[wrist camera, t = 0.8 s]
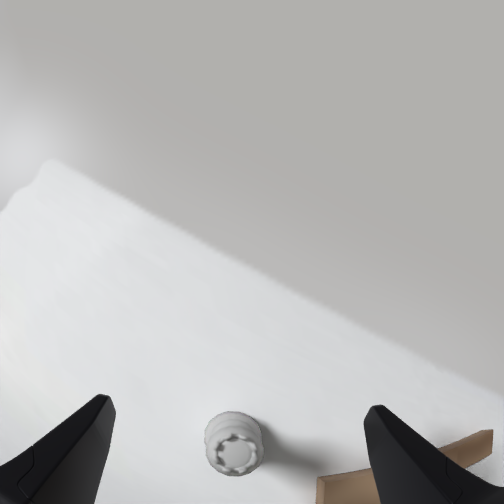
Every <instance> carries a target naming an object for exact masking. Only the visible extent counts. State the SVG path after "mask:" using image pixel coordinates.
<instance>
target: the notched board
mask: <svg viewBox="0 0 504 504" xmlns="http://www.w3.org/2000/svg"><path fill="white" fill-rule="evenodd" d="M492 444H493V429H492V430H481V431H479V432H477V433H475V434H473V435H470V436H468V437H466V438H463V439H461V440H459V441H456V442H454V443H451V444H449V445H446V446H444V447H441V448H438V450H440V451H441V452H442V453H443V454H445V455H446V457H449V458H450V459H451V460H453V461H454V462H455V463H457V464H458V465H460V466H461V467H462V468H466V467H468V466H470V465H472V464H474V463H476V462H478V461H480V460H481V459H483V458H485V457H487V456H489V455H490V454H492ZM316 504H381V503H380V499H379V495H378V491H377V487H376V483H375V479H374V476H373V472H372V468H369V469H364V470H359V471H354V472H348V473H342V474H336V475H329V476H321V477H317V493H316Z"/></svg>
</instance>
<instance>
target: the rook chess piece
mask: <svg viewBox="0 0 504 504" xmlns="http://www.w3.org/2000/svg"><path fill="white" fill-rule="evenodd" d="M204 442H205V445H206V456H207V459H208V461H209V463H210V465H211V466H212V467H213V468H214V469H216V470H217V471H218V472H220V473H222V474H225V475H227V476H243V475H246V474H249V473H251V472H252V471H254V470H255V469H256V468H257V467H259V465H260V463H261V461H262V459H263V457H264V446H263V444H262V434H261V431H260V429H259V426H258V424H257V423H256V422H255V421H254V420H253V419H252V418H251V417H250V416H248V415H246V414H243V413H241V412H233V411H227V412H224V413H221V414H218V415H217V416H215V417H214V418H213V419H212V420H210V421H209V423H208V425H207V427H206V429H205V437H204Z"/></svg>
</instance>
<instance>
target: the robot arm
mask: <svg viewBox="0 0 504 504" xmlns="http://www.w3.org/2000/svg"><path fill="white" fill-rule="evenodd" d="M115 417H116V411H115V408H114V405H113V402H112V400H111V397H110V396H108V395H103V394H98V395H96V396H95V397H94V398H93V399H91V400H90V401H89V402H88V403H86V404H85V405H84V406H82V407H81V408H80V409H79V410H77V411H76V412H75V413H73V414H72V415H71V416H70V417H68V418H67V419H66V420H64V421H63V422H62V423H61V424H59V425H58V426H57V427H55V428H54V429H53V430H52V431H50V432H49V433H48V434H46V435H45V436H44V437H42V438H41V439H40V440H39V441H37V442H36V443H35V444H33V446H31V447H29V448H28V449H27V450H25V451H24V452H22V453H21V454H20V455H18V456H17V457H15V458H13V459H12V460H10V461H9V462H7V463H5V464H3V465H2V466H0V504H94V502H95V498H96V495H97V491H98V487H99V484H100V480H101V477H102V473H103V470H104V466H105V463H106V460H107V456H108V453H109V449H110V443H111V438H112V432H113V427H114V422H115ZM364 430H365V436H366V443H367V449H368V456H369V461H370V465H371V468H372V472H373V476H374V479H375V483H376V487H377V491H378V495H379V499H380V503H381V504H504V487H499V486H495V485H492V484H490V483H488V482H486V481H484V480H483V479H481V478H479V477H477V476H476V475H474V474H472V473H470V472H469V471H467V470H466V469H464V468H462V467H461V466H460V465H458V464H457V463H455V462H454V461H453V460H451V459H450V458H449V457H446V455H445V454H443V453H442V452H441V451H440V450H438V449H437V448H436V447H435V446H433V445H432V444H431V443H429V442H428V441H427V440H426V439H424V438H423V437H422V436H421V435H419V434H418V433H417V432H416V431H414V430H413V429H412V428H411V427H409V426H408V425H407V424H406V423H404V422H403V421H402V420H401V419H400V418H398V417H397V416H396V415H395V414H393V413H392V412H391V411H390V410H389V409H387V408H386V407H385V406H384V405H375V406H372V407H371V408H370V410H369V412H368V413H367V415H366V417H365V419H364Z"/></svg>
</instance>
